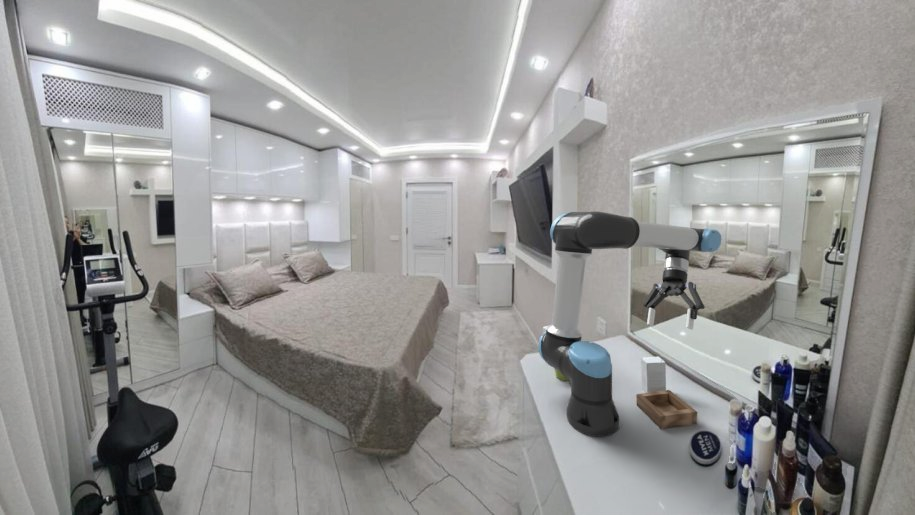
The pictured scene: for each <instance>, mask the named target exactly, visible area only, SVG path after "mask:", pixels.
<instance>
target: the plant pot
mask: <svg viewBox="0 0 915 515" xmlns="http://www.w3.org/2000/svg"><path fill="white" fill-rule="evenodd" d="M554 371H555V373H554V374H555V377H556V378H557V379H559V380H560V381H570V379H569V378H567V377H566V376H565V375H563V374H562V373H560V372H559V371H558V370H556V369H555V368H554Z"/></svg>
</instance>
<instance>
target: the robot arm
mask: <svg viewBox="0 0 915 515" xmlns="http://www.w3.org/2000/svg"><path fill="white" fill-rule="evenodd" d="M549 234H550V239H551V240H552V242H553V243H554V245H555V247H554V251H555V253H556V254H557V256H558V262H557V269H556V270H557V271H556V280H555V291H554V297H553V308H552V317H551V318H552V319H551V324H549V325H550V326H549V325H547V326H548V327H547V329H546V332H544V333H543V332H542V335H541V336H540V337H539V339H538V343H537V350H538V353H539V355H540V358H541V359H542V360H543V361H544V362H545V363H546V364H547V365H548V366H550V367H551V368H553V369H554V370H555V369H556V370H558V371H559V372H560V373H562V374H563V375H565V376H566V377H567V378H569V381H570V391H571V394H570V397H569V400H568V401H567V406H566V419H567V422H568V423H569V425H570V426H572V428H574V429H575V430H577V431H578V432H580V433H583V434H584V435H588V436H593V437H607V436H611V435H613V434H615V433H616V432H617V431H619V428H620V424H621V422H620V414H619V412H618V410H617V407H616V404H615V401H614V400H613V365H612V364H613V363H612V358H611V354H610V353H609V351H608V350H607V349H606V348H605V347H603V346H602V345H601V344H598V343H596V342H590V341H588V340H587V341H586V340H582V336H583V334H582V332H581V331H580V330H579V323H580V322H579V319H580V313H581V304H582V297H583V296H582V294H583V287H584V277H585V269H586V268H585V267H586V261H587V259H588V257H590V256H591V255H592V253H593V250H607V249H608V250H609V249H611V250H612V249H622V250H623V249H625V250H626V249H627V250H628V249H631V248H632V247H640V248H641V247H642V248H653V249H654V248H655V249H659V250H661V251H662V252H663V253H665V256H664V263H663V264H664V265H663V272H662V283H661V284H657V283H653V286H652V288H651V290H650V292H649V294H648V295H647V297H646V298H645V300H644V301H643V303H642V307H644V308H647V309H646V317H647V318H646V319H647V322H646V325H648V326H649V327H654V325H655V318H656V309H655V308H656V307H657V306H659V305H660V303H661V302H662V301H663V300H665V298H668V297H675V296H676V297H679V296H680V297H681V298H682V300H683V301H684V302H685V303H686V304H687V305H688V306H689V308H687V312H686V313H687V314H686V321H685V328H688V330H694V324H695V323H694V322H695V320H697V319H698V311H699V310H704V309H705V304H704V303H703V301H702V299H701V297H700V295H699V292H698V291H697V285H696V283H694V282H692V281H689V282H688V271H689V264H690V256H691V255H690V254H691V251H692V252H701V253H714V252H716V251H718V250H719V248H720V247H721V245H722V239H723V238H722V235H721V234H722V233H720V231H718V230H717V229H715V228H714V229H710V228H696V227H695V228H694V227H688V226H687V227H686V226H678V225H670V224H660V223H652V222H645V221H638V220H637V219H635V218H634V217H631V216H625V215H619V214H613V213H609V212H603V211H571V212H566V213H565V212H564V213H562V214H559V216H557V217H556V218H555V219H554V220H553V222H552V223H551V227H550V230H549ZM687 282H688V283H687ZM687 289H688V291H689V293H690V295H691V298H692V299H693V300H692V299H691V298H690V297H689V295H688V294H687V293H686V292H685V290H687Z"/></svg>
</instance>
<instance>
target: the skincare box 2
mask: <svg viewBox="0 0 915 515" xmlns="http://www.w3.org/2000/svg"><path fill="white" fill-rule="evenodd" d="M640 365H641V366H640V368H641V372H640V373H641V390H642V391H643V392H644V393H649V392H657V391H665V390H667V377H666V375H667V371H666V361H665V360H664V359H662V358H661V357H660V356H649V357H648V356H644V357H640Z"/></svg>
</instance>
